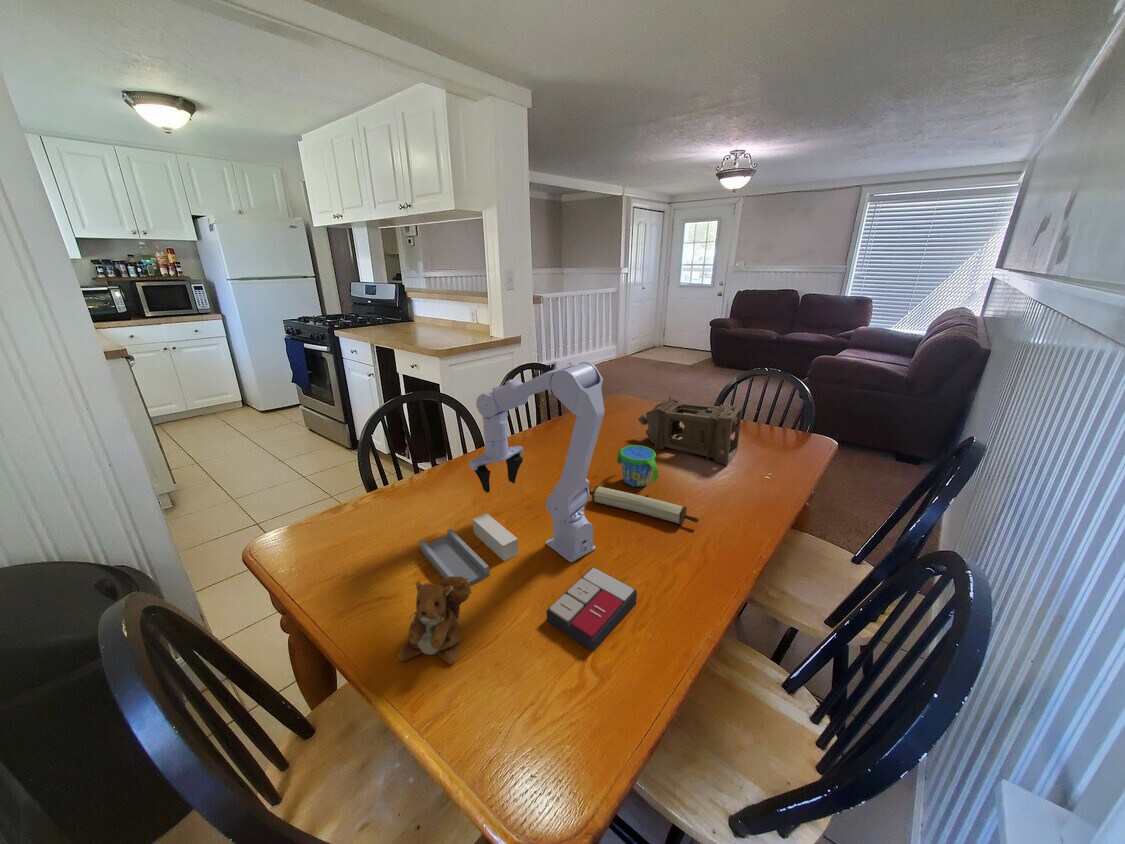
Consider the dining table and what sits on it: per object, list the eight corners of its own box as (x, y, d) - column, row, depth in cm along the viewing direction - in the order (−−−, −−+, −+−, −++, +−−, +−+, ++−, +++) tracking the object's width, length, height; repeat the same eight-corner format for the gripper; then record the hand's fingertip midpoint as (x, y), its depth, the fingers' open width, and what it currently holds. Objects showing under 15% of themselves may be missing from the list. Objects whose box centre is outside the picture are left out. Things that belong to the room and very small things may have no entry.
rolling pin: (699, 523, 111) (701, 506, 109) (695, 534, 107) (697, 517, 105) (587, 493, 126) (588, 478, 124) (579, 502, 121) (579, 487, 119)
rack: (489, 575, 93) (488, 566, 92) (455, 593, 88) (454, 583, 87) (451, 537, 106) (450, 528, 105) (420, 550, 101) (419, 541, 100)
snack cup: (666, 489, 127) (669, 458, 124) (637, 498, 123) (639, 466, 119) (634, 468, 140) (636, 439, 137) (607, 475, 136) (608, 446, 132)
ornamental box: (629, 450, 160) (628, 405, 152) (648, 429, 173) (648, 387, 165) (726, 471, 142) (730, 422, 133) (739, 446, 154) (744, 400, 146)
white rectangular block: (518, 554, 100) (517, 538, 98) (504, 562, 97) (503, 545, 96) (487, 528, 110) (486, 513, 108) (473, 534, 107) (472, 518, 106)
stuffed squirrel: (394, 665, 72) (382, 605, 68) (433, 603, 85) (425, 549, 81) (449, 675, 71) (441, 613, 66) (480, 610, 84) (475, 555, 79)
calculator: (545, 607, 80) (592, 563, 90) (546, 624, 82) (592, 579, 92) (592, 639, 73) (638, 587, 84) (592, 656, 75) (637, 603, 85)
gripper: (511, 426, 113) (514, 472, 118) (461, 440, 105) (466, 489, 110) (527, 434, 108) (529, 481, 113) (475, 449, 100) (480, 500, 104)
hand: (499, 486), depth 111 cm, fingers open, 7 cm apart
